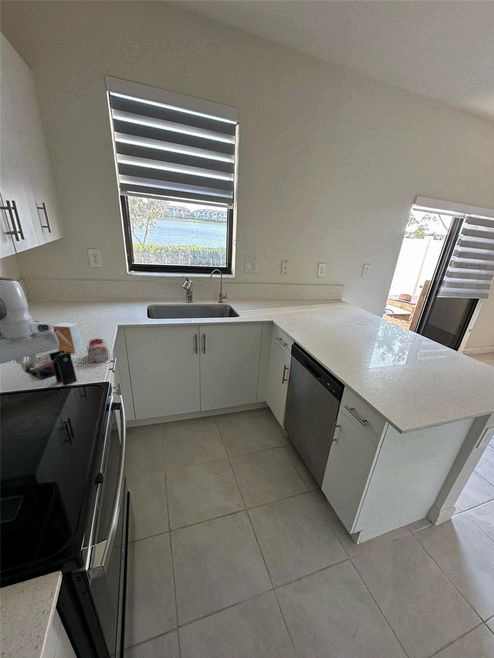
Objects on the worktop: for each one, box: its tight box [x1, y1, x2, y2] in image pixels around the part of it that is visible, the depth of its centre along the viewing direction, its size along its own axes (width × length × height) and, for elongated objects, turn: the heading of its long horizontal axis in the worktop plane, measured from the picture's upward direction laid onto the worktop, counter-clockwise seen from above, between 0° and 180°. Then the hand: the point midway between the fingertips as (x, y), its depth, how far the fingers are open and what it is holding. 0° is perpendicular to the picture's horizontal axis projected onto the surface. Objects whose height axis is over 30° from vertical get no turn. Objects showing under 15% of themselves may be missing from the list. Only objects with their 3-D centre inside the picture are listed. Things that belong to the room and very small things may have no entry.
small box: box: [52, 322, 84, 354], centre depth 138 cm, size 8×6×13 cm
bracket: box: [48, 350, 78, 386], centre depth 106 cm, size 12×9×13 cm
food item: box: [86, 338, 110, 364], centre depth 129 cm, size 14×8×10 cm, turn 32°
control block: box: [33, 368, 55, 381], centre depth 114 cm, size 10×8×4 cm
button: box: [42, 361, 53, 369], centre depth 113 cm, size 4×4×2 cm
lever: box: [24, 352, 65, 377], centre depth 101 cm, size 12×5×2 cm, turn 152°
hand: (29, 368), depth 97 cm, fingers closed
